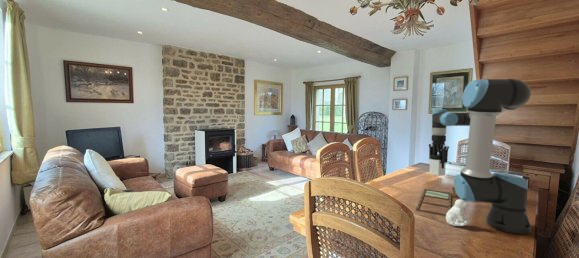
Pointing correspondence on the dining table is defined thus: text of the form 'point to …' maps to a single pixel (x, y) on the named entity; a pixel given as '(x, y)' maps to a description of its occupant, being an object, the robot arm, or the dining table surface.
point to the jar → (436, 165)
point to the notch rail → (436, 195)
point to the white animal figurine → (457, 214)
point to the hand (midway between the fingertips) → (437, 172)
